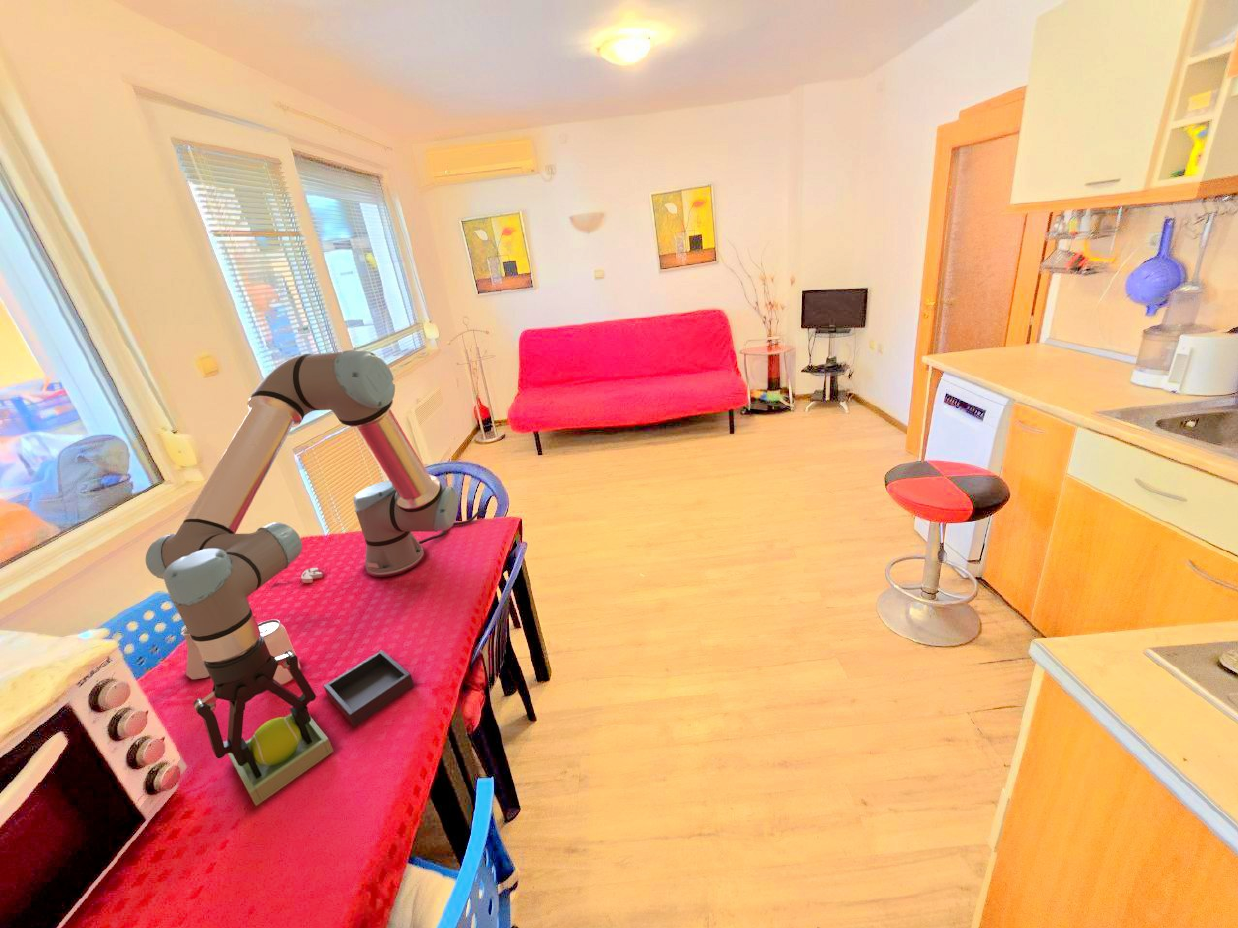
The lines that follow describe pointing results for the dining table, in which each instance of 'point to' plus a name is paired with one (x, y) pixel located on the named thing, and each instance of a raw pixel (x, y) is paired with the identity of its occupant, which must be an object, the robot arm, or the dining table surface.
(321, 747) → the green tray
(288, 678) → the can
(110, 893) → the dining table surface
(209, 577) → the robot arm
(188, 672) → the flask
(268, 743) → the tennis ball
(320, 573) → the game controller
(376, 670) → the charcoal tray
